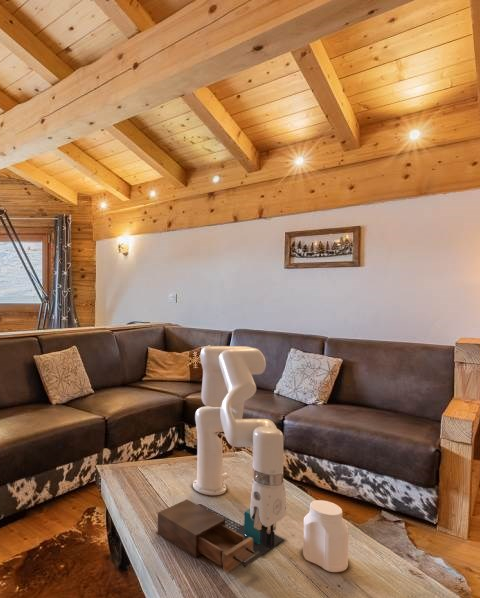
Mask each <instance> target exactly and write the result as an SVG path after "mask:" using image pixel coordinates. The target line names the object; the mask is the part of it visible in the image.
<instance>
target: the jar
mask: <svg viewBox="0 0 480 598" xmlns="http://www.w3.org/2000/svg"><path fill="white" fill-rule="evenodd" d="M349 532H350V531H349V526H348V525H347V523H346V521H345V520H344V518H343V509H342V507H340V506H339V505H338V504H336V503H334V502H331V501H329V500H323V499H317V500H313V501H311V502H310V504H309V512H307V514H306V515H305V516H304V517H303V548H302V555H303V557H304V559H305V560H306V561H308V562H310V563H313V564H315V565H317V566H319V567H320V568H322V569H323V570H324V571H327V572H331V573H341V572H345V570H347V568H348V567H349Z"/></svg>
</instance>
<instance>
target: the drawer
mask: <svg viewBox="0 0 480 598" xmlns="http://www.w3.org/2000/svg"><path fill="white" fill-rule="evenodd" d="M198 552H200V553H201V555H203V556H204V557H206V558H207V559H209V560H210V561H212V562H214V563H215V564H217V565H218V566H222V571H223V572H224V573H228V572H230V571H231V570H233V569H235V568H236V567H237V566H240V564H241V566H242V567H243V568H247V567H248V566H250V565H251V564H252V563H254V562H256V561H257V560H258V559H260V558H261V557H262V556H261V553H260V552H259V551H257V552H255V551H253V538H251V537H249V538H247V539H245V540H244V536H243V535H241V534H240V533H238V532H236V530H234V529H233V528H230V527H228V526H226V524H225V525H223V524H220V525H218V526H217V527H215V528H213V529H211V530H209V531H208V532H206V533H204V534H202V535H200V536H199V537H198Z"/></svg>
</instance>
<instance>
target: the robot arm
mask: <svg viewBox="0 0 480 598" xmlns="http://www.w3.org/2000/svg"><path fill="white" fill-rule="evenodd" d="M199 359H200V360H199V361H200V364H201V367H202V382H201V393H200V396H201V402H202V404H203V405H204V406H201V407H198V409H196V411H195V412H194V413H195V414H194V421H195V427H196V439H197V440H196V442H197V443H196V451H197V452H196V458H197V460H196V479H194V480H193V482H192V488H193V490H195V491H196V492H198V493H200V494H203V495H206V496H220V495H223V494H225V493H226V492H227V484H225V483H224V481H225V480H226V479H228V478H229V477H230V474H229V473H228V472H224V473H223V457H224V456H223V453H224V451H223V441H222V439H221V438H220V437H219V435H217V433H224V436H225V439H226V441H227V443H228V444H229V446H231V447H234V448H252V481H253V482H252V486H251V494H250V508H249V509H250V514H251V519H252V520H253V521H254V528H255V529H257V530H260V544H262V545H264V546H265V547H267V548H269V549H271V548H272V547H274V534H275V531H276V529H277V523H278V522H279V521H281V520H282V519H284V518H285V517H286V516H287V496H286V487H285V481H284V446H285V445H284V442H285V441H284V434H283V432H282V431H281V430H280V429H279V428H277V425H276V424H275V423H274V421H273V420H271V419H269V418H243V416H244V409H245V403H246V401H247V400H249V399H251V398H252V397H253V396H254V395H255V394H256V392H257V385H256V382H255V380H254V376H253V375H262V374H264V373H265V370H266V367H267V362H266V357H265V355H264V353H263V352H262V351H261V350H260V349H259V348H255V347H252V346H245V345H243V346H242V345H241V346H240V345H208V346H204V347H202V349H200V353H199ZM274 548H275V547H274ZM272 549H273V548H272ZM272 549H271V550H272Z"/></svg>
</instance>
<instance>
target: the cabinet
mask: <svg viewBox="0 0 480 598" xmlns="http://www.w3.org/2000/svg"><path fill="white" fill-rule="evenodd" d="M220 524H223V525H225V526H226V519H225V518H223V517H221V516H220V515H218V514H216V513H215V512H212V511H210V510H208V509H206V508H204V507H202V506H201V505H199V504H197V503H195V502H193V501H191V500H189V499H187V498H186V499H184V500H183V501H181V502H178V503H176V504H173V505H171V506H169V507H167V508H165V509H163V510H159V511H158V512H157V534H158V535H160V536H161V537H163V538H165V539H166V540H168V541H169V542H171V543H172V544H173V545H176V546H177V547H178V548H179V549H182V550H183V551H184V552H186V553H187V554H189V555H190V556H191V557H193V558H195V559H196V558H198V557H200V556H201V555H202V554H201V553H200V552H198V537H199V536H200V535H202V534H204V533H206V532H208V531H209V530H211V529H213V528H215V527H217V526H218V525H220Z"/></svg>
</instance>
